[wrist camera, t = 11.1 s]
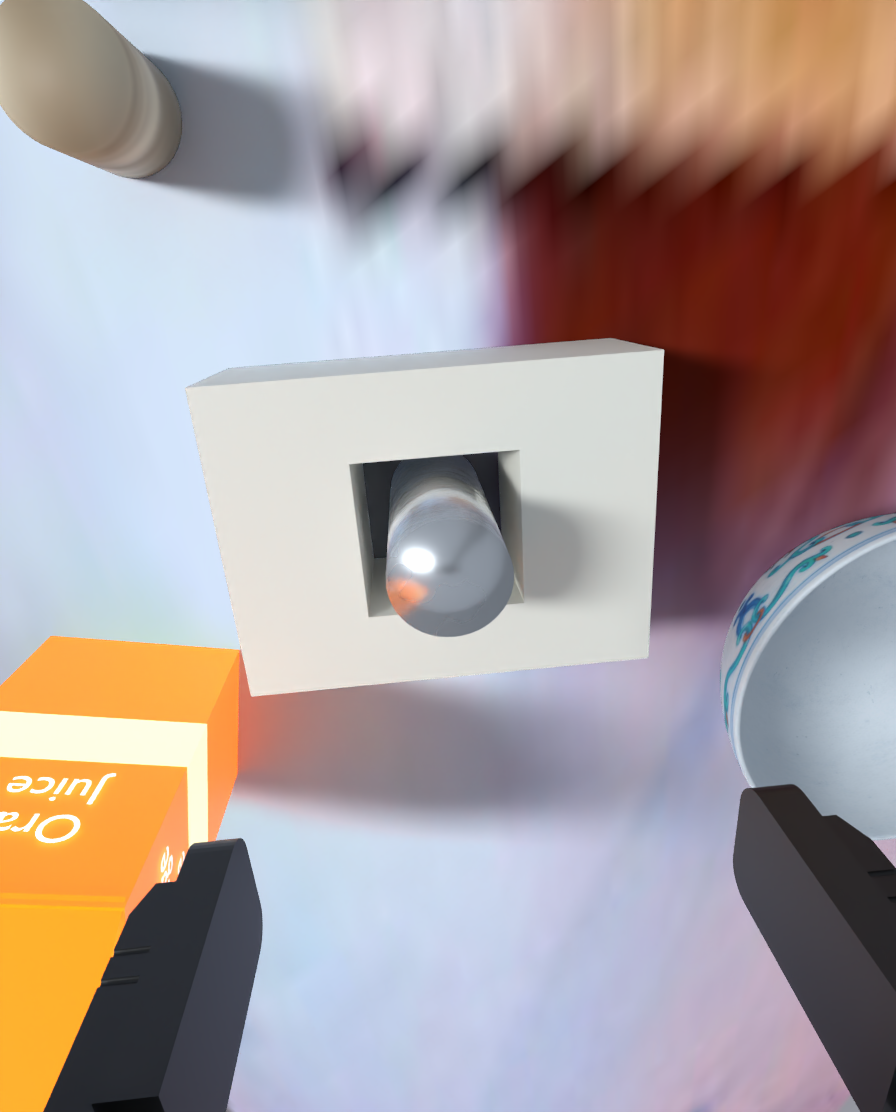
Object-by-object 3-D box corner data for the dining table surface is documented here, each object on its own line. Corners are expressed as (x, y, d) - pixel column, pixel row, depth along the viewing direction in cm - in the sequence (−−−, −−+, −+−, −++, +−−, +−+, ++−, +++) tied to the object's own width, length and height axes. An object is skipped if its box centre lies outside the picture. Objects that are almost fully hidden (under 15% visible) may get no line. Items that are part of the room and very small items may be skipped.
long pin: (476, 442, 29) (511, 513, 20) (481, 528, 31) (516, 631, 21) (385, 450, 29) (378, 525, 20) (395, 535, 30) (392, 642, 21)
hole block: (611, 338, 28) (664, 349, 22) (605, 595, 32) (648, 657, 27) (228, 368, 27) (184, 387, 22) (277, 625, 32) (251, 696, 26)
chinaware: (929, 714, 37) (1058, 816, 29) (661, 749, 36) (726, 862, 29) (982, 447, 31) (1158, 494, 24) (666, 486, 31) (747, 546, 23)
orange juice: (49, 633, 31) (-464, 1134, 13) (241, 647, 32) (26, 1132, 14) (62, 767, 34) (-339, 1338, 15) (239, 777, 35) (59, 1324, 16)
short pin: (168, 44, 23) (110, -17, 19) (192, 174, 25) (144, 147, 20) (51, 51, 23) (-36, -9, 18) (83, 181, 25) (10, 156, 20)
